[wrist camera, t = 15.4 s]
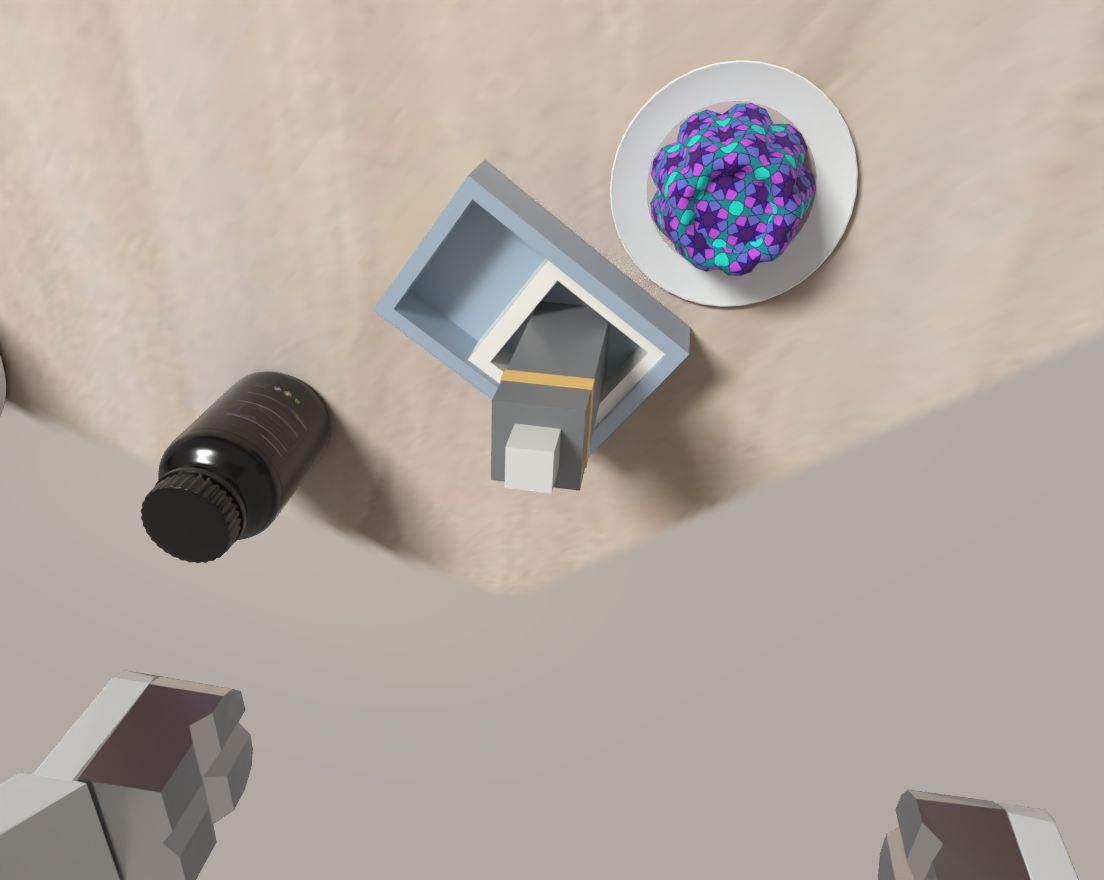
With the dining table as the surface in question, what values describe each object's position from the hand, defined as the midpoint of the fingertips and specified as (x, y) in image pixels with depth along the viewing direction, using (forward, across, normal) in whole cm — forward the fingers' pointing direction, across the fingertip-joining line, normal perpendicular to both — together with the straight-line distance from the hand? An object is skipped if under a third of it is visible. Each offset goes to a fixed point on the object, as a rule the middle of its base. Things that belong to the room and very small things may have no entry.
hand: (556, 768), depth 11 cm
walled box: (+37, +6, +9) cm, 39 cm away
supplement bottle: (+37, +22, +18) cm, 47 cm away
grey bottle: (+36, +4, +10) cm, 38 cm away
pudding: (+38, -3, +2) cm, 38 cm away
